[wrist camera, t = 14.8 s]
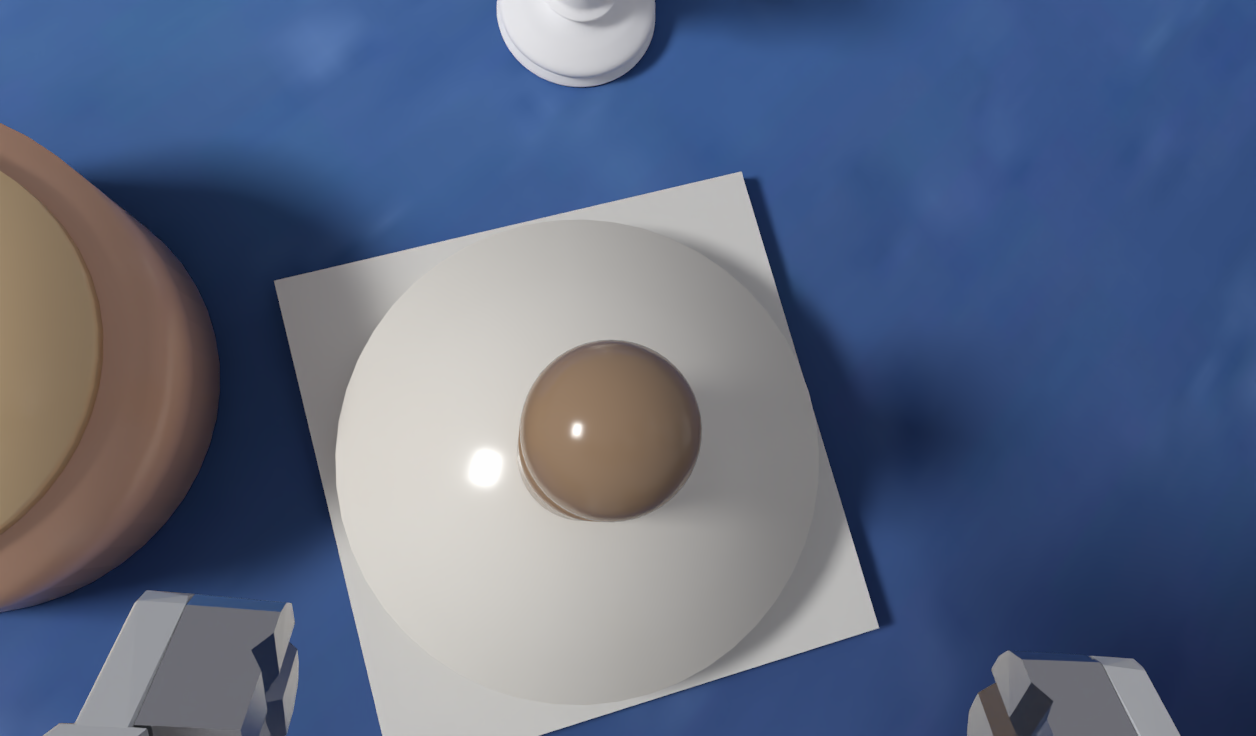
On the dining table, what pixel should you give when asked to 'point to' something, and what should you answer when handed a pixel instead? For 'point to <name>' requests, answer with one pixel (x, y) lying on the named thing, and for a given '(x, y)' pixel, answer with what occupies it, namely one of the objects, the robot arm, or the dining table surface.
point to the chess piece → (577, 37)
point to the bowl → (90, 379)
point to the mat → (396, 665)
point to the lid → (577, 462)
